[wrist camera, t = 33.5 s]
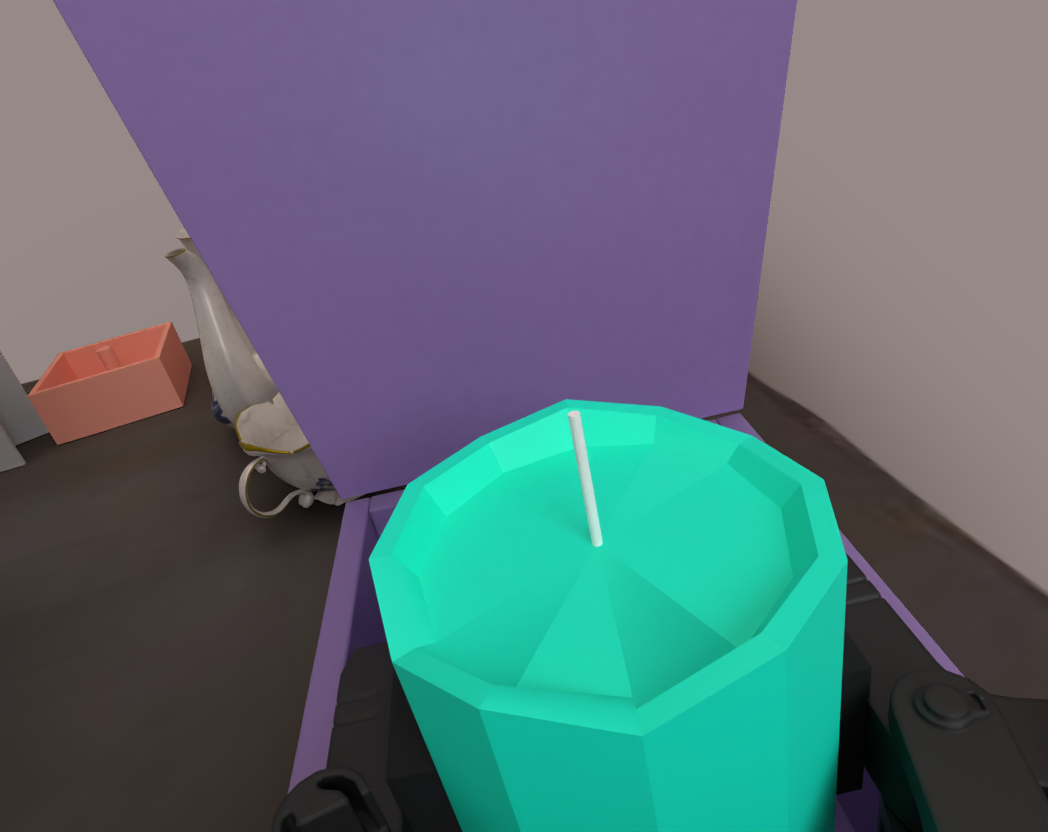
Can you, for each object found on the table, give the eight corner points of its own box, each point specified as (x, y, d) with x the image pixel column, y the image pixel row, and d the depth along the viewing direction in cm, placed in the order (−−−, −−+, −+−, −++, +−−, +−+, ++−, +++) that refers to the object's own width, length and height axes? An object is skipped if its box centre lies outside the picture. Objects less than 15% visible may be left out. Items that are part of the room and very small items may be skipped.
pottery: (57, 445, 50) (-18, 323, 46) (83, 397, 58) (22, 289, 54) (298, 370, 54) (251, 251, 50) (291, 335, 62) (251, 229, 58)
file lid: (875, -576, 8) (713, -483, 12) (-158, -360, 8) (6, -334, 12) (743, 409, 21) (685, 305, 24) (341, 500, 21) (344, 381, 24)
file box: (1178, 1362, 11) (1417, 1203, 7) (388, 1555, 10) (140, 1512, 6) (747, 604, 25) (740, 412, 21) (415, 680, 25) (344, 501, 21)
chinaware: (425, 559, 33) (355, 218, 25) (109, 565, 35) (-55, 247, 27) (488, 334, 58) (462, 122, 49) (299, 344, 59) (243, 141, 51)
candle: (515, 801, 17) (367, 360, 11) (760, 760, 16) (741, 284, 11) (530, 1153, 11) (257, 657, 6) (893, 1101, 11) (996, 522, 5)
